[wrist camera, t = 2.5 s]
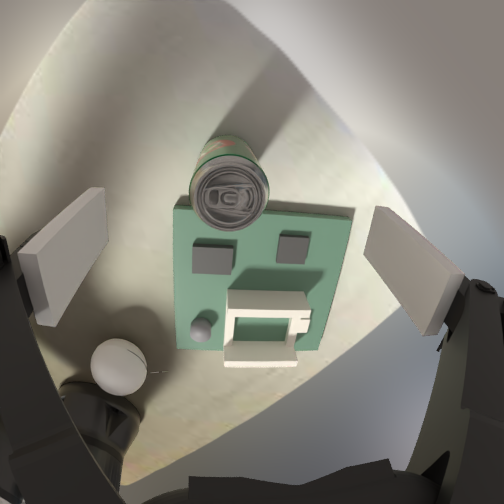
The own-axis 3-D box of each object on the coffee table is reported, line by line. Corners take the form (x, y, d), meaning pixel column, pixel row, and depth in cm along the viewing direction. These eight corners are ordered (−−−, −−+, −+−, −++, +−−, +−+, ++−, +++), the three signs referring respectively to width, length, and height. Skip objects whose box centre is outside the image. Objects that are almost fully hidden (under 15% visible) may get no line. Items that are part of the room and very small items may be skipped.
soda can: (250, 187, 31) (267, 239, 21) (198, 184, 31) (186, 236, 20) (255, 136, 29) (276, 160, 18) (201, 133, 28) (188, 155, 18)
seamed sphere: (100, 360, 40) (87, 400, 34) (97, 321, 37) (80, 362, 30) (168, 373, 42) (163, 415, 35) (173, 336, 39) (167, 380, 32)
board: (177, 342, 39) (174, 369, 35) (174, 205, 31) (167, 222, 27) (315, 344, 42) (324, 369, 37) (348, 216, 33) (365, 235, 29)
